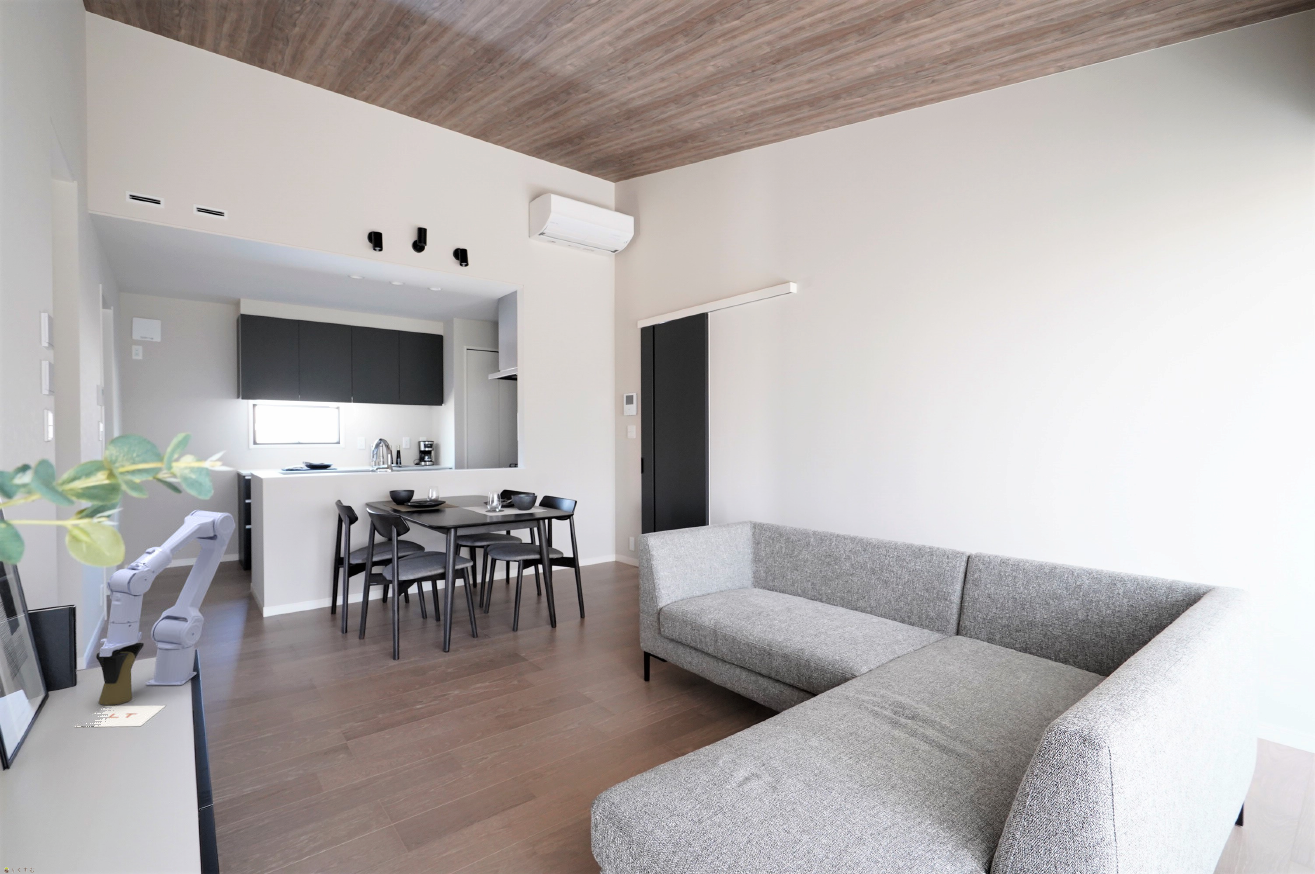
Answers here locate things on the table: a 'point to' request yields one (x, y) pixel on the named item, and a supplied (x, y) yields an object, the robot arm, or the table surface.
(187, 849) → the table surface
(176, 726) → the table surface
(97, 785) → the table surface
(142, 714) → the card
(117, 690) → the olive knobbed shaker
